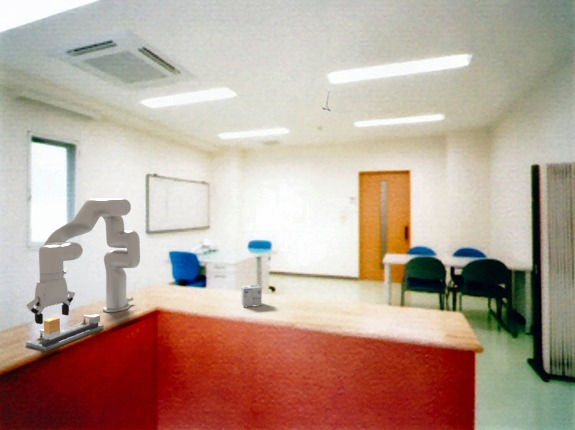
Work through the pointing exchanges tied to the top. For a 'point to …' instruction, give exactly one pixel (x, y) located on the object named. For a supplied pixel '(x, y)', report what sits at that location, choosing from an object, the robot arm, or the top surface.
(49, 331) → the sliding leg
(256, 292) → the light bulb box
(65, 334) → the base
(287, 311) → the top surface
